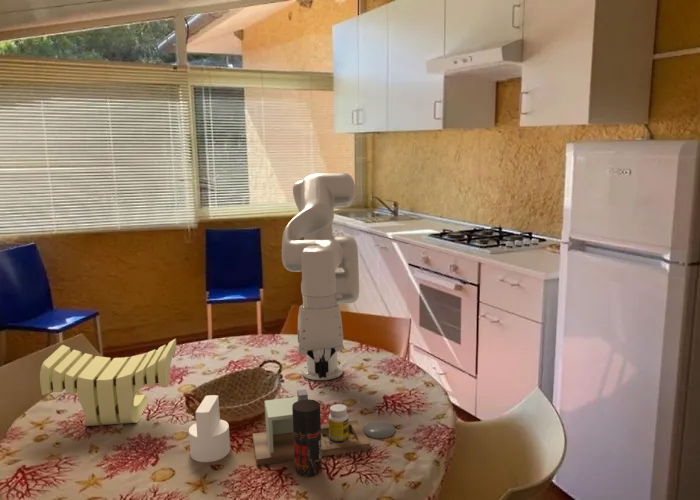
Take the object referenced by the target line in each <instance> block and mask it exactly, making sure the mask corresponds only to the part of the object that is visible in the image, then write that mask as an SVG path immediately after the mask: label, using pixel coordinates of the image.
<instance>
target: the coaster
mask: <svg viewBox="0 0 700 500" xmlns="http://www.w3.org/2000/svg"><path fill="white" fill-rule="evenodd" d="M362 430H363V432H364V434H365V436H366V437H368V438H371V439H374V440H375V439H379V440H380V439H381V440H382V439H387V438H391V437H392V436H393V435H394V434H395V433H396V427H395V425H393V424H392V423H389V422H387V421H381V420H380V421H371V422H368V423H366V424H365V425H364V426H362Z"/></svg>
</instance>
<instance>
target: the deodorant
mask: <svg viewBox="0 0 700 500" xmlns="http://www.w3.org/2000/svg"><path fill="white" fill-rule="evenodd" d="M292 412H293V437H294V460H293V461H294V472H295V474H296V475H298V476H300V477H304V478H311V477H315V476H317V475H319V474H321V472H322V471H323V459H322V457H323V456H322V450H321V425H322V423H321V422H322V421H321V420H322V419H321V418H322V417H321V403H320V402H319V401H317V400H314V399H310V398H308V399H306V400H300V401H297V402H295V403H294V404H293V405H292Z"/></svg>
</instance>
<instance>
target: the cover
mask: <svg viewBox="0 0 700 500" xmlns="http://www.w3.org/2000/svg"><path fill="white" fill-rule="evenodd" d="M296 393H297V395H296V396H292V397H285V398H284V397H283V398H275V399H267V400H264V419H265V420H264V421H265V432H266V436H267V441H268V446H269V451H270V453H274V451H273V435H276V434H284V433H291V432H293V412H292V405H293V404H294V403H295V402H297V401H300V400H306V399H309V394H308V392H307V389H297V391H296Z"/></svg>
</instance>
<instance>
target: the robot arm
mask: <svg viewBox="0 0 700 500" xmlns="http://www.w3.org/2000/svg"><path fill="white" fill-rule="evenodd" d="M292 193H293V194H292V195H293V199H294V203H295V205H296V207H297V209H298V213H297V214H296V215H295V216H293V218H292V219H291V220H290V221H289V222H288V223H287V224H286V226H285V227H284V229H283V234H282V240H281V262H282V265H283V267H284V269H286V270H287V271H288V272H292V273H295V272H296V273H300V272H301V283H300V293H301V296H302V304H300V306H299V309H298V315H297V342H298V348H297V352H298V354H299V355H301V356H306V365H305V366H303V367H302V370H301V375H302V376H303V377H304V378H306V379H309V380H312V381H328V380H333V379H336V378H338V377H340V376H341V375H342V374H343V372H344V371H343V370H344V369H343V367H342V365H341V364H339V363H338V362H339V361H338V353H339V352H341V351H343V350H344V349H345V347H344V333H343V332H344V331H343V330H344V329H343V322H342V314H341V309H340V305H341V304H342V305H344V304H353V303H355V302H357V301H358V299H359V297H360V274H359V273H360V270H359V251H358V250H359V249H358V244H357V242H356V240H355V238H353V237H352V236H348V235H339V236H337V235H336V236H334V235H333V234H334V233H333V221H334V218H335V210H334V208H336V209H337V208H343V209H344V208H349V207H351V206H352V205H353V203H354V201H355V197H356V185H355V181H354V178H353V177H352V176H351V175H350V174H349V173H347V172H322V173H321V172H320V173H317V172H316V173H311V174H309V175H307V176H305V177H304V178H303V179H301V180H298V181H295V183H294V184H293V186H292ZM337 269H342V270H343V272H342V271H340V272H339V271H337V272H336V270H337Z"/></svg>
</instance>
